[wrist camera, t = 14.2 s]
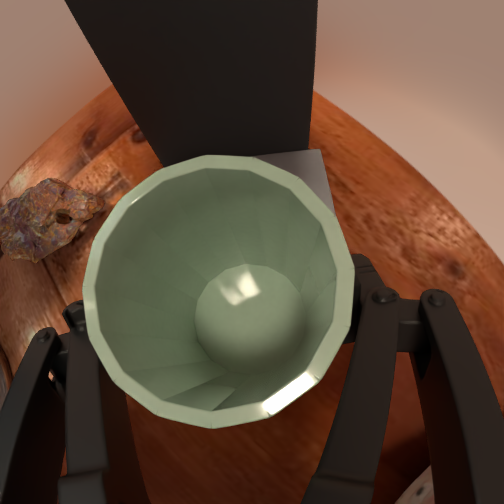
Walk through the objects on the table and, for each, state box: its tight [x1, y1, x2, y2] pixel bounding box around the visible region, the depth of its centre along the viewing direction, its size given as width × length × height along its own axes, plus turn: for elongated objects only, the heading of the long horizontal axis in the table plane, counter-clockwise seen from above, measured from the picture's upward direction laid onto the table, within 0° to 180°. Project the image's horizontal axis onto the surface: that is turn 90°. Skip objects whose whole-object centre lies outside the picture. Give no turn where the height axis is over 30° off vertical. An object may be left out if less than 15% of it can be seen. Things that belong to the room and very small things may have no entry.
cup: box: [82, 155, 355, 429], centre depth 14 cm, size 8×8×12 cm
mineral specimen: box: [0, 178, 104, 263], centre depth 24 cm, size 12×8×7 cm
